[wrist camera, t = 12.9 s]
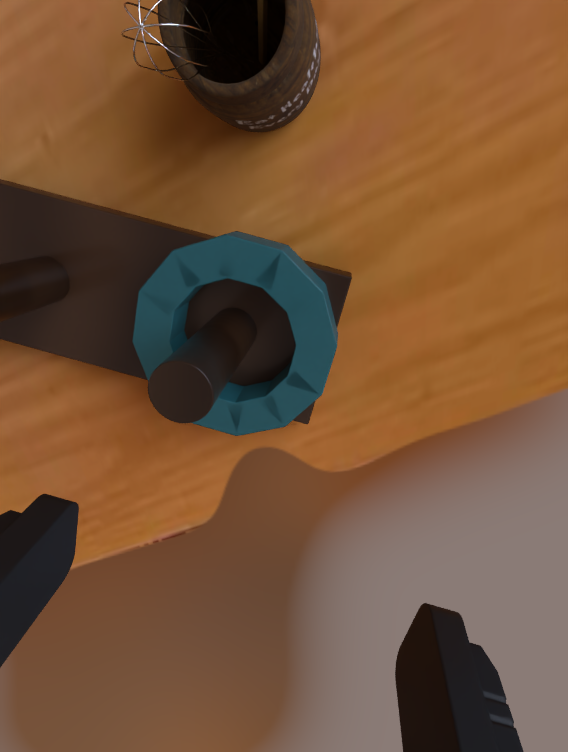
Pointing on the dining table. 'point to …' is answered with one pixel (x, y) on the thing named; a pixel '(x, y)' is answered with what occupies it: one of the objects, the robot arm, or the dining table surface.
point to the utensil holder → (241, 56)
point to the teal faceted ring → (283, 283)
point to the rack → (134, 300)
